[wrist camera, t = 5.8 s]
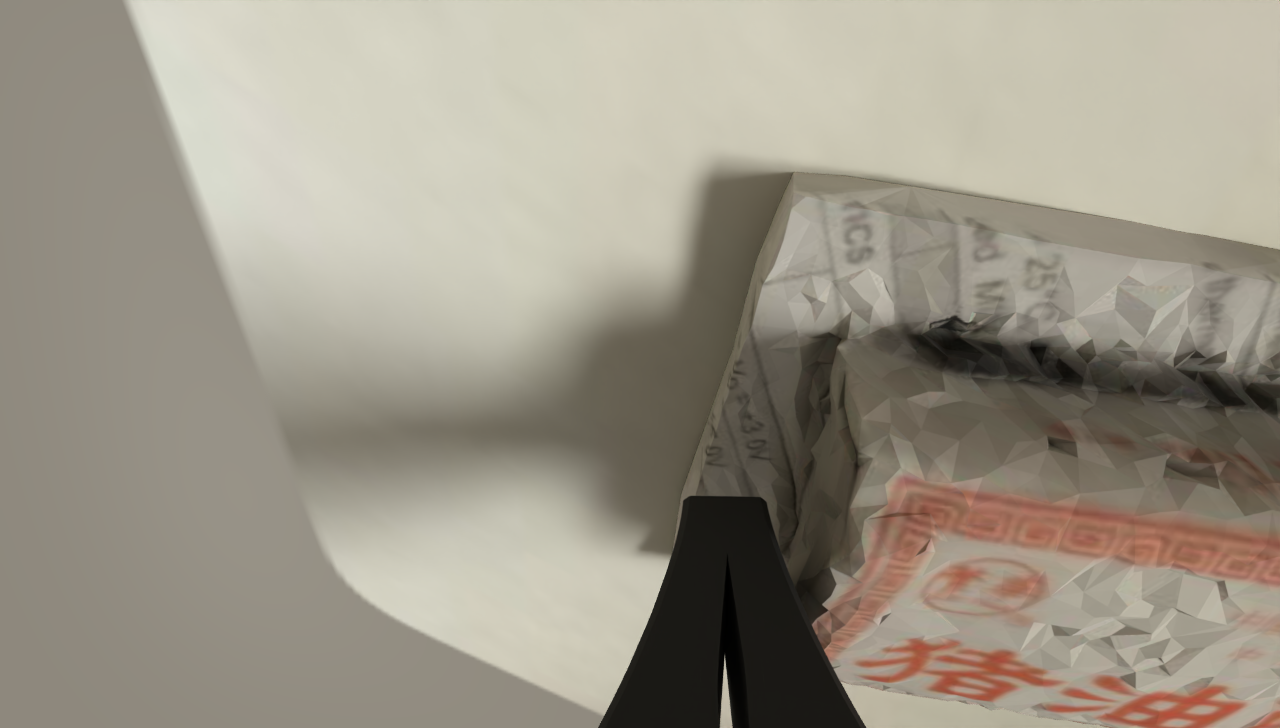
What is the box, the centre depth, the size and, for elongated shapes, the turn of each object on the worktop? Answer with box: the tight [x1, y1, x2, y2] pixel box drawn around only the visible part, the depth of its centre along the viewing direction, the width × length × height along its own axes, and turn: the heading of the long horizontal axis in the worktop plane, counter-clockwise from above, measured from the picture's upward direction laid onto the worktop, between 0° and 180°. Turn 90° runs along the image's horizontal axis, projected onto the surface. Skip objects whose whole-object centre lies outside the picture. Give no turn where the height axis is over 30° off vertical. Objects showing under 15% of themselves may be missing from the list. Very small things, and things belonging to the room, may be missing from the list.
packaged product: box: [672, 172, 1280, 728], centre depth 12 cm, size 18×5×10 cm
